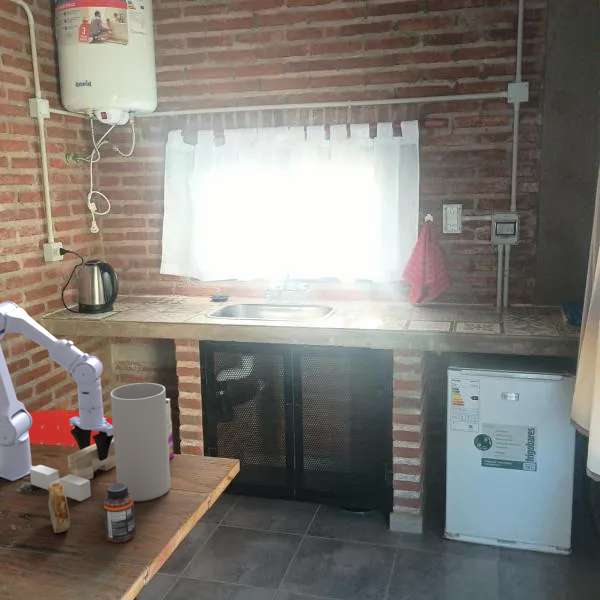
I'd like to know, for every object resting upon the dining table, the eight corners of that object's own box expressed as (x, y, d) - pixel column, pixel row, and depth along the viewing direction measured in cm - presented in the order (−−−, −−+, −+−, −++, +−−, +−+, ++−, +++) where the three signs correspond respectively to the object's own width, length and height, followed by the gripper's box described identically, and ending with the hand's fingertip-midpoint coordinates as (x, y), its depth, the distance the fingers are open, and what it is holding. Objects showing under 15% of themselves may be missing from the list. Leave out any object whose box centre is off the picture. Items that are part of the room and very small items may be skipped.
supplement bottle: (111, 529, 143) (107, 479, 141) (138, 529, 143) (135, 479, 141) (102, 544, 137) (98, 492, 135) (131, 544, 137) (127, 492, 135)
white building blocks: (31, 484, 165) (29, 469, 165) (41, 479, 168) (40, 464, 167) (80, 501, 156) (79, 485, 155) (90, 496, 158) (89, 480, 158)
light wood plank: (69, 482, 166) (67, 455, 165) (112, 461, 178) (110, 436, 176) (77, 485, 164) (75, 458, 163) (120, 464, 176) (118, 439, 175)
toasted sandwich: (72, 537, 140) (69, 493, 138) (54, 541, 139) (50, 496, 137) (67, 515, 149) (63, 473, 148) (49, 519, 148) (45, 477, 146)
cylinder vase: (116, 483, 165) (109, 386, 160) (167, 475, 169) (162, 380, 164) (119, 506, 153) (111, 402, 149) (173, 497, 157) (168, 395, 152)
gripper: (123, 405, 167) (126, 456, 170) (83, 396, 175) (87, 445, 177) (101, 414, 162) (105, 467, 164) (61, 404, 169) (65, 455, 171)
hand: (94, 456), depth 170 cm, fingers open, 6 cm apart
